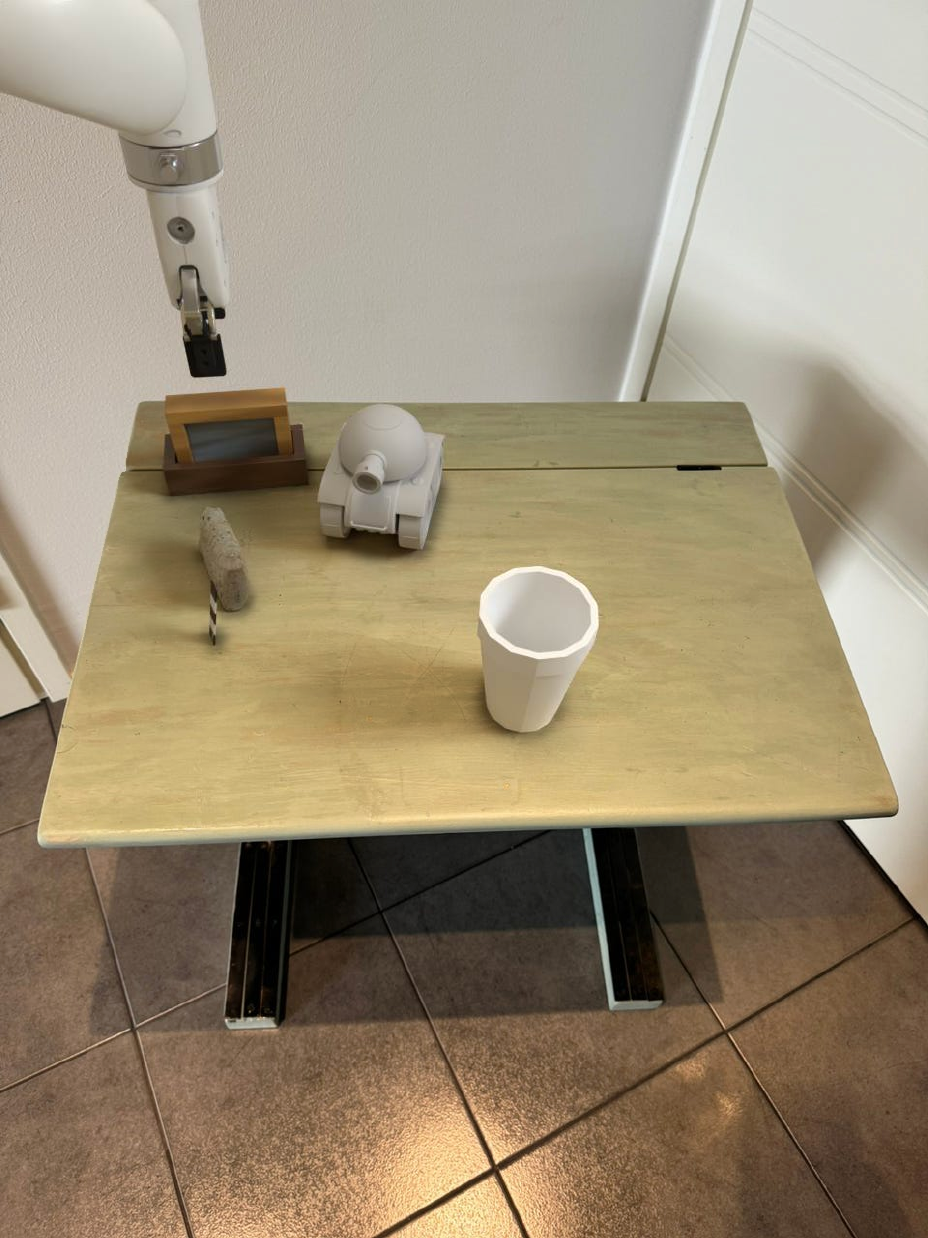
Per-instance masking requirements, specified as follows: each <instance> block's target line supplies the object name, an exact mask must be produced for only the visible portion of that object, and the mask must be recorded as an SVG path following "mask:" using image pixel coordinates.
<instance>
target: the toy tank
mask: <svg viewBox="0 0 928 1238" xmlns="http://www.w3.org/2000/svg"><path fill="white" fill-rule="evenodd" d="M444 439H446V434H442V433H435V432H429V431H428V432H427V431H424V430H423V428H422V426H421V424H420V422H419V421H418V419H416V418H415V417H414V416H413V414H412V413H410V412H409V411H407V410H406V409H404V408H402V407H400V406H397V405H394V404H389V403H375V404H371V405H367V406H365V407H363V408H360V409H358V411H356V412H355V413H353V414H352V415H350V417H349V418H348V420H346V421H345V422H344V423H343V425H342V426H341V428H340V431H339V434H338V436H337V439H336V440H335V443H334V446H333V448H332V450H331V453H330V456H329V458H328V461H327V463H326V466H325V469H324V471H323V473H322V476H321V481H320V484H319V488H318V494H317V500H316V502H317V503H319V504H320V506H319V507H320V509H319V523H320V530H321V533H322V535H325V536H327V537H333V538H339V539H341V538H345V539H346V538H347V537H349V535H350V533H351V530H352V529H355V530H356V531H363V532H364V530H365V531H367V532H368V533H377V532H379V534H382V535H387V534H391V535H398V545H399V546H400V547H402V548H405V549H406V548H407V549H413V550H422V549H423V548H424V545H425V542H426V540H427V536H428V533H429V529H430V525H431V519H432V516H433V513H434V508H435V505H436V501H437V497H438V494H439V490H440V487H441V482H442V481H441V480H442V474H443V468H444V467H443V466H444Z"/></svg>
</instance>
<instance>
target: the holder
mask: <svg viewBox="0 0 928 1238" xmlns="http://www.w3.org/2000/svg"><path fill="white" fill-rule="evenodd" d="M290 429H291V436H292V443H293V451H294V454H288V455H276V456H263V457H251V458H238V459H226V460H213V461H201V462H188V463H178V460H177V457H176V453H175V449H174V446H173V442H172V438H171V435H170V433H165V434H164V447H163V463H162V472H163V476H164V479H165V482H166V486H167V488H168V492H169V495H170V497H175V496H188V495H200V494H211V493H222V492H234V491H243V490H245V491H246V490H255V489H268V488H269V489H270V488H279V487H281V488H282V487H290V486H291V487H292V486H293V487H294V486H305V485H309V484H310V481H309V480H310V479H309V473H308V471H309V470H308V462H307V454H306V445H305V436H304V427H303V424H302V423H299V424H298V423H297V424H290Z"/></svg>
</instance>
